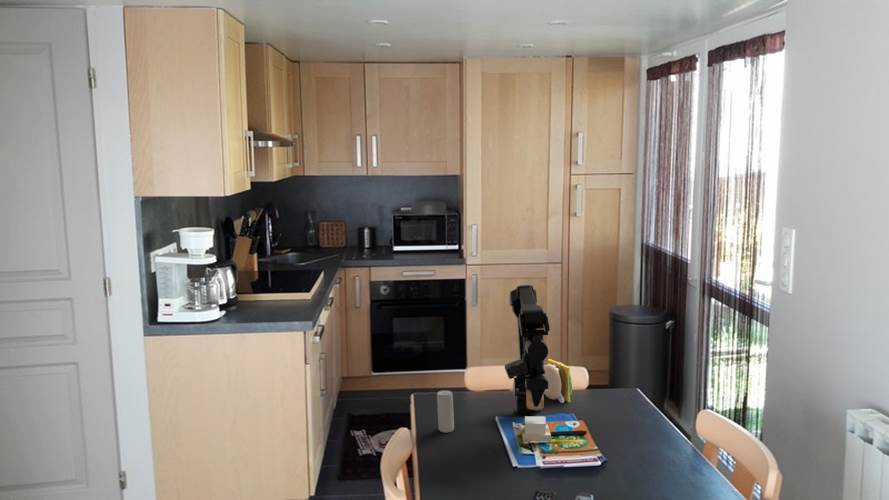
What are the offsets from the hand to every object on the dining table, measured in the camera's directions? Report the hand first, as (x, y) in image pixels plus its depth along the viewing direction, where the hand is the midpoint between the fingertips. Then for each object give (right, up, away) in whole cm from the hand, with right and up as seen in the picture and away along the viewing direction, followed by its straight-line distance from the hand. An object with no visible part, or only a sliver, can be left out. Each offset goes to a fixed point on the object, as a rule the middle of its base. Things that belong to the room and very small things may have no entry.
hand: (535, 403), depth 208 cm
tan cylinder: (0, -1, 0) cm, 1 cm away
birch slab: (0, -11, +1) cm, 11 cm away
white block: (0, -8, +1) cm, 8 cm away
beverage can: (-26, -11, +11) cm, 30 cm away
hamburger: (+12, -6, +35) cm, 38 cm away
